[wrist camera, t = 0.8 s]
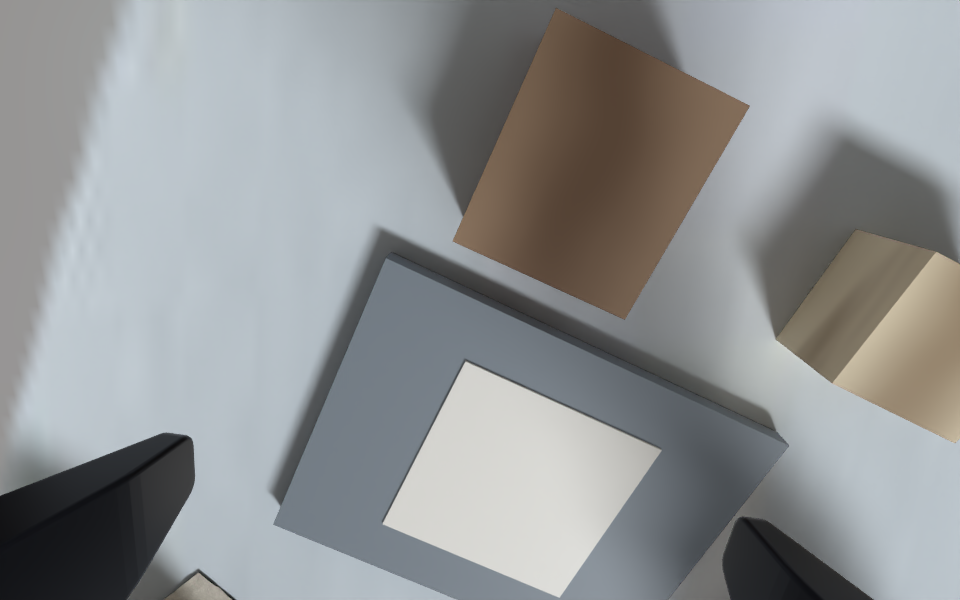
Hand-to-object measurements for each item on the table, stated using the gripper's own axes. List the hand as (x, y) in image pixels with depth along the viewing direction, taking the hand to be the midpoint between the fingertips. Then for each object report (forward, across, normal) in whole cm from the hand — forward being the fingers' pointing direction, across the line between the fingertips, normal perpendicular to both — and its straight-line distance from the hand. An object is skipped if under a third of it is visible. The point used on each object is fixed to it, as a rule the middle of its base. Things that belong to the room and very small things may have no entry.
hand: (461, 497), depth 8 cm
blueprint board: (+13, -3, +9) cm, 16 cm away
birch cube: (+13, -15, -1) cm, 20 cm away
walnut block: (+13, -3, -5) cm, 14 cm away
